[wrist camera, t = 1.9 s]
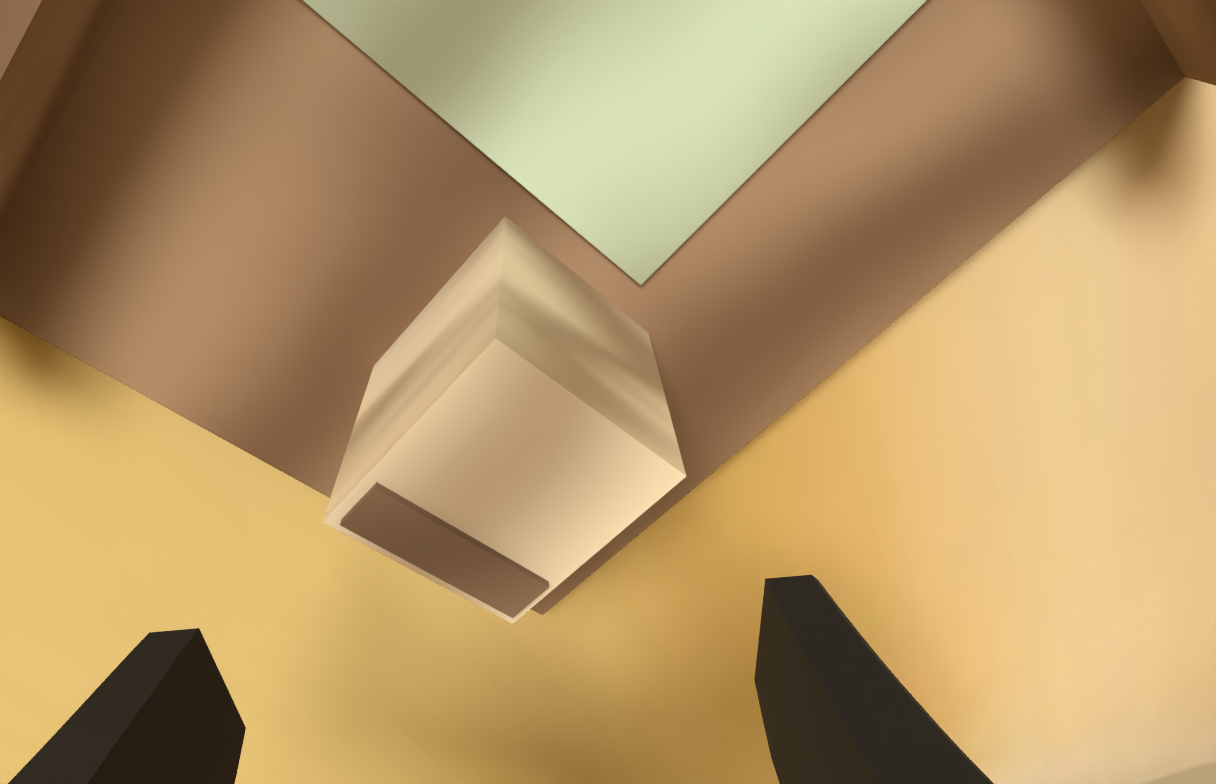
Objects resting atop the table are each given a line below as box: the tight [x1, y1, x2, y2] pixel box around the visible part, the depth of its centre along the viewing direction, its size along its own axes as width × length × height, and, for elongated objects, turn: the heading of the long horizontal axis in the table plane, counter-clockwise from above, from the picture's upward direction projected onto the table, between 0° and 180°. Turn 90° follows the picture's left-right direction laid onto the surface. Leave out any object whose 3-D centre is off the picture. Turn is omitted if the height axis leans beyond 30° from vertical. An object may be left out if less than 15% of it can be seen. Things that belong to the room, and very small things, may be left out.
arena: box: [0, 0, 1216, 615], centre depth 14 cm, size 16×20×4 cm
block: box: [322, 217, 686, 624], centre depth 15 cm, size 4×4×5 cm
